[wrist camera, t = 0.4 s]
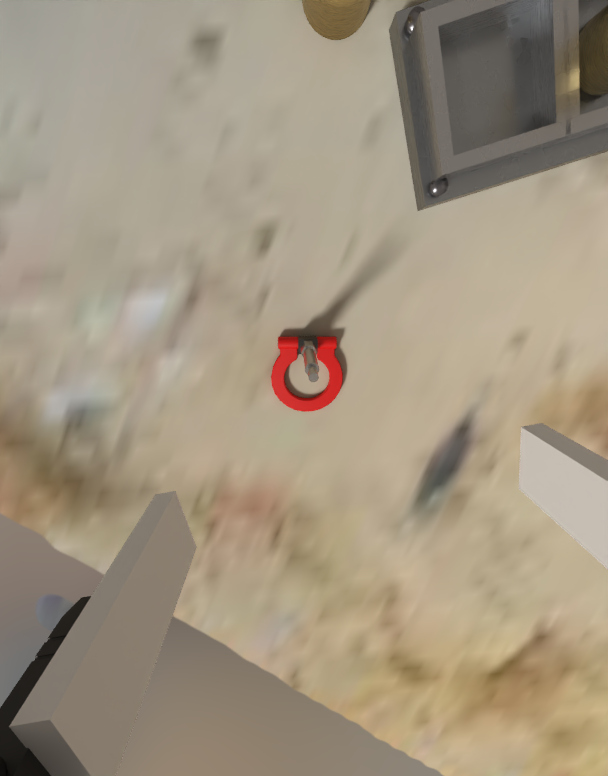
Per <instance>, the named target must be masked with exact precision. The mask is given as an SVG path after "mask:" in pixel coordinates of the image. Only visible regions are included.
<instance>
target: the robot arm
mask: <svg viewBox="0 0 608 776" xmlns="http://www.w3.org/2000/svg"><path fill="white" fill-rule="evenodd" d="M519 489H520V490H521V491H522V492H523V493H524V494H525V495H526V496H527V497H528V498H530V499H531V500H532V501H533V502H534V503H535V504H536V505H537V506H538V507H539V508H541V509H542V510H543V511H544V512H545V513H546V514H547V515H548V516H549V517H551V518H552V519H553V520H554V521H555V522H556V523H557V524H558V525H559V526H560V527H562V528H563V529H564V530H565V531H566V532H567V533H568V534H569V535H570V536H571V537H573V538H574V539H575V540H576V541H577V542H578V543H579V544H580V545H581V546H582V547H584V548H585V549H586V550H587V551H588V552H589V553H590V554H591V555H592V556H594V557H595V558H596V559H597V560H598V561H599V562H600V563H601V564H602V565H603V566H605V567H606V568H607V569H608V460H606V459H605V458H603V457H601V456H599V455H598V454H596V453H594V452H592V451H590V450H589V449H587V448H585V447H583V446H582V445H580V444H578V443H576V442H574V441H573V440H571V439H569V438H567V437H566V436H564V435H562V434H560V433H558V432H557V431H555V430H553V429H551V428H550V427H548V426H546V425H544V424H542V423H540V424H534V425H529V426H524V427H521V445H520V472H519ZM195 550H196V545H195V542H194V539H193V537H192V534H191V531H190V529H189V526H188V523H187V521H186V518H185V515H184V513H183V510H182V507H181V505H180V502H179V499H178V497H177V494H176V491H173V492H167V493H162V494H156V495H155V496H154V498H153V500H152V501H151V503H150V504H149V506H148V507H147V509H146V511H145V512H144V514H143V515H142V517H141V519H140V520H139V522H138V523H137V525H136V526H135V528H134V530H133V531H132V533H131V534H130V536H129V538H128V539H127V541H126V542H125V544H124V545H123V547H122V549H121V550H120V552H119V553H118V555H117V557H116V558H115V560H114V561H113V563H112V564H111V566H110V568H109V569H108V571H107V572H106V574H105V576H104V577H103V579H102V580H101V582H100V583H99V585H98V587H97V588H96V590H95V591H94V593H93V595H92V596H89V597H83V598H81V599H80V600H79V601H78V602H77V603H76V604H75V605H74V606H73V607H72V608H71V609H70V610H69V611H68V612H67V613H66V614H65V615H64V616H63V617H62V618H61V620H60V621H59V622H58V624H57V625H56V627H55V628H54V630H53V631H52V633H51V634H50V636H49V637H48V641H47V642H46V643H44V645H43V646H42V648H41V649H40V651H39V652H38V653H37V655H36V656H35V661H33V662H31V664H30V665H29V667H28V668H27V670H26V671H25V673H24V674H23V675H22V677H21V678H20V680H19V681H18V683H17V684H16V686H15V687H14V689H13V690H12V692H11V693H10V695H9V696H8V698H7V699H6V700H5V702H4V703H3V705H2V706H1V708H0V776H116V774H117V771H118V768H119V765H120V763H121V760H122V757H123V754H124V751H125V749H126V746H127V743H128V740H129V737H130V734H131V732H132V729H133V726H134V723H135V720H136V717H137V715H138V712H139V709H140V706H141V703H142V700H143V697H144V695H145V692H146V689H147V686H148V683H149V681H150V678H151V675H152V672H153V669H154V666H155V664H156V661H157V658H158V655H159V652H160V649H161V647H162V644H163V641H164V638H165V635H166V632H167V630H168V627H169V624H170V621H171V618H172V615H173V613H174V610H175V607H176V604H177V601H178V598H179V596H180V593H181V590H182V587H183V584H184V581H185V579H186V576H187V573H188V570H189V567H190V564H191V562H192V559H193V556H194V553H195Z"/></svg>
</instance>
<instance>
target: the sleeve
mask: <svg viewBox="0 0 608 776" xmlns="http://www.w3.org/2000/svg"><path fill="white" fill-rule="evenodd" d="M370 2H371V0H302V3H303V8H304V12H305V15H306V17H307V19H308V21H309V23H310V25H311V26H312V28H313V29H314V30H315V31H316V32H317V33H318V34H320V35H321V36H323V37H325V38H327V39H331V40H341V39H345V38H347V37H349V36H351V35H352V34H354V33H355V32H356V31H357V30H358V29H359V28H360V26H361V25H362V23H363V22H364V20H365V18H366V15H367V13H368V9H369V6H370Z"/></svg>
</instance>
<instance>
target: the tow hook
mask: <svg viewBox="0 0 608 776" xmlns="http://www.w3.org/2000/svg"><path fill="white" fill-rule="evenodd" d="M336 346H337V339H336V337H316V336H298V337H278V348H279V349H280V356H279V357H278V358H277V360H276V362H275V364H274V366H273V371H272V376H271V378H272V386H273V389H274V392H275V394H276V395H277V397H278V398H279V399H280V401H282V402H283V403H284V404H285V405H286V406H288V407H290V408H292V409H295V410H299V411H315V410H318V409H321V408H323V407H325V406H327V405H328V404H330V403H331V402H332V401H333V400H334V399H335V398H336V396H337V394H338V393H339V391H340V389H341V385H342V375H343V373H342V369H341V366H340V363H339V361H338V360H337V358H336V357H335V355H334V354H335V349H336ZM297 349H298V353H299V354H302V355H303V357H304V363H305V371H306V373H307V374H308V376H309V380H310V381H311V382H316V381H317V380H318V372H319V366H318V362H317V358H318V360H320V361H322V362H323V363H324V364H325V365H326V367H327V368H328V370H329V378H330V379H329V383H328V386H327V387H326V389H325V390H324V391H323V392H322V393H321V394H319V395H318V396H316V397H313V398H300V397H298V396H295V395H294V394H292V393H291V392H290V391H289V390H288V388H287V387H286V384H285V381H284V375H285V371H286V369H287V367H288V366H289V365H290V364H291V363H292V362H293V361H295V360H296V359H297ZM316 354H317V358H316Z"/></svg>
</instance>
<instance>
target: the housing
mask: <svg viewBox="0 0 608 776" xmlns="http://www.w3.org/2000/svg"><path fill="white" fill-rule="evenodd" d="M389 33H390V39H391V45H392V51H393V58H394V64H395V70H396V77H397V83H398V89H399V96H400V102H401V108H402V115H403V121H404V127H405V134H406V140H407V146H408V153H409V159H410V165H411V172H412V178H413V184H414V190H415V197H416V203H417V209H418V211H419V210H423V209H426V208H429V207H432V206H435V205H438V204H442V203H445V202H448V201H451V200H454V199H457V198H461V197H464V196H467V195H470V194H473V193H477V192H480V191H483V190H486V189H489V188H492V187H496V186H499V185H502V184H505V183H508V182H511V181H515V180H518V179H521V178H524V177H527V176H531V175H534V174H537V173H540V172H543V171H546V170H550V169H553V168H556V167H559V166H562V165H566V164H569V163H572V162H575V161H578V160H581V159H585V158H588V157H591V156H594V155H597V154H600V153H604V152H607V151H608V0H430V1H427V2H424V3H421V4H418V5H415V6H412V7H410V8H407V9H404V10H401V11H398V12H396V14H395V16H394V19H393V22H392V24H391V27H390V29H389Z"/></svg>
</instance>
